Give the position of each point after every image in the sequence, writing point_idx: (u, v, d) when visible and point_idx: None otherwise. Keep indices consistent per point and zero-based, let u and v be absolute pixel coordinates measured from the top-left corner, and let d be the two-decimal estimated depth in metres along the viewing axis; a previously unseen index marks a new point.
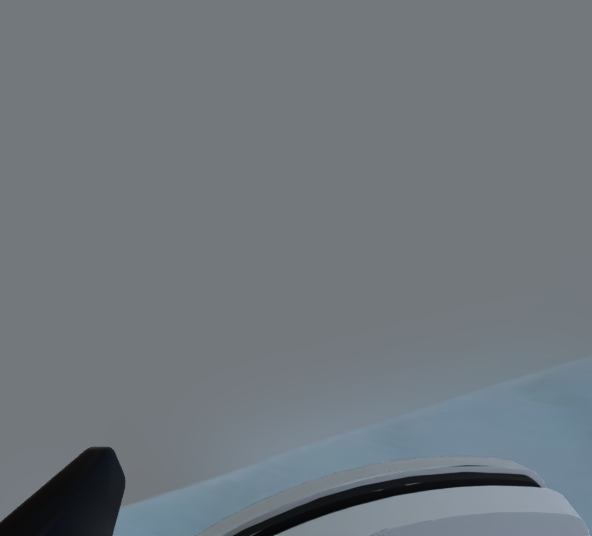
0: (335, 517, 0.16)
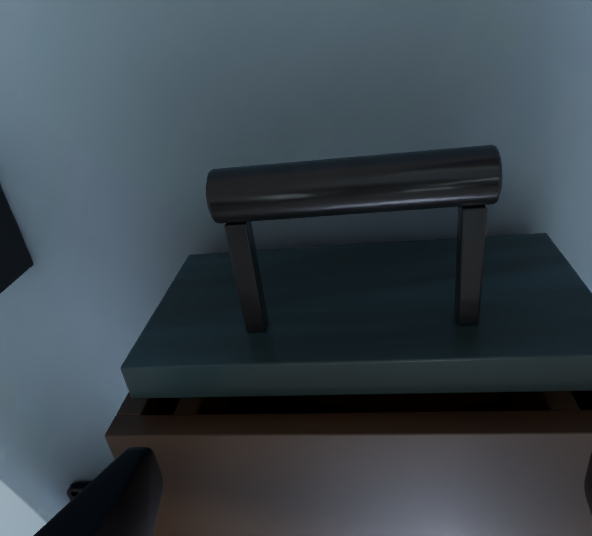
0: None
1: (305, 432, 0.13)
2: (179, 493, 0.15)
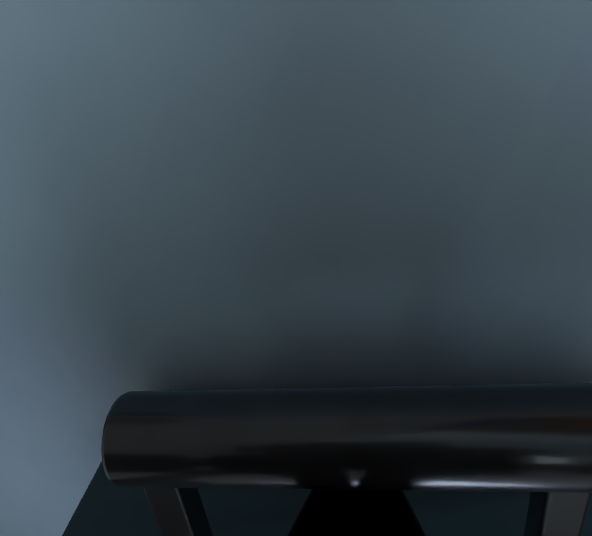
0: None
1: None
2: None
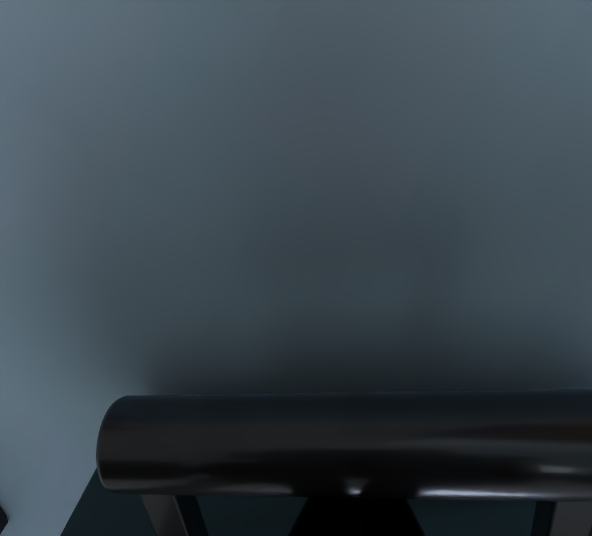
0: None
1: None
2: None
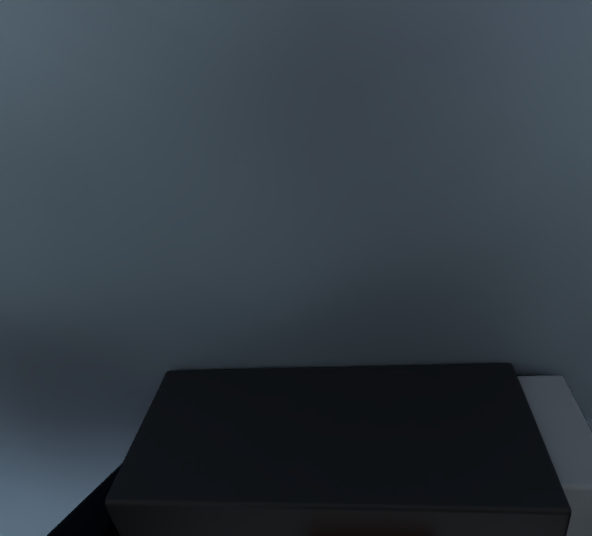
0: None
1: None
2: None
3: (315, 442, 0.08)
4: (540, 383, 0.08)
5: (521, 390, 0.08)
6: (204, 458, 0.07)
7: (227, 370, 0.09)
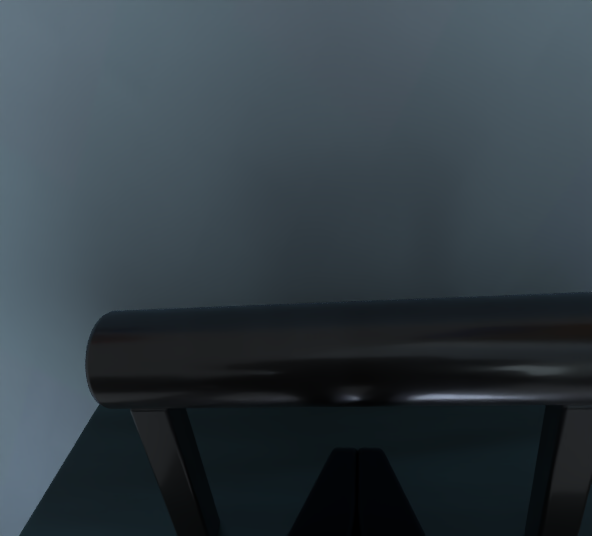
0: None
1: None
2: None
3: None
4: None
5: None
6: None
7: None
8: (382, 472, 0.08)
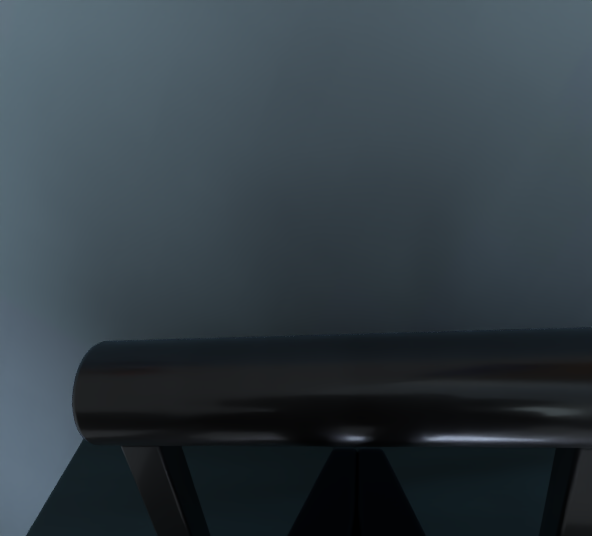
0: None
1: None
2: None
3: None
4: None
5: None
6: None
7: None
8: (382, 472, 0.08)
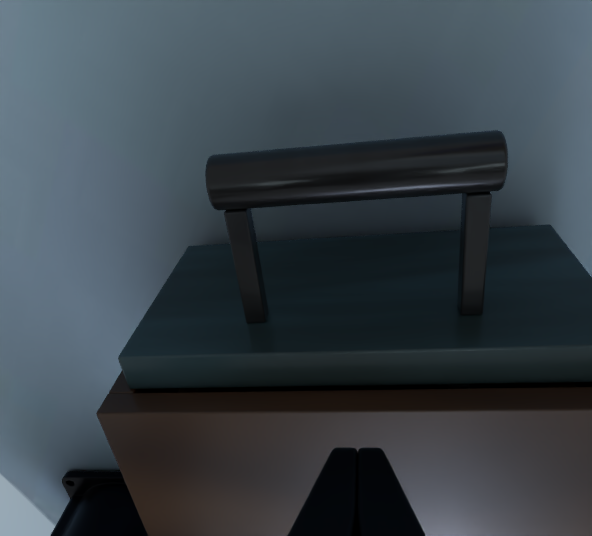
0: None
1: (303, 409, 0.13)
2: (173, 474, 0.15)
3: None
4: None
5: None
6: None
7: None
8: (382, 472, 0.08)
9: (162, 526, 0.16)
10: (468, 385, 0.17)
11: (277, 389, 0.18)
